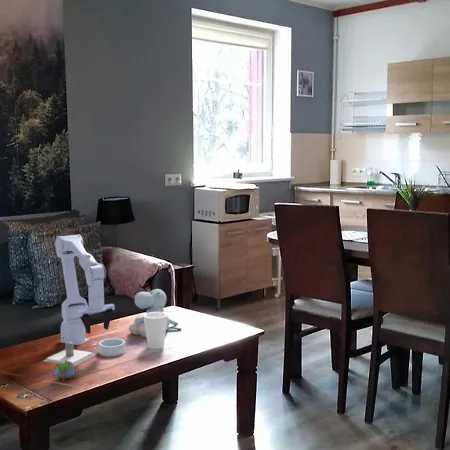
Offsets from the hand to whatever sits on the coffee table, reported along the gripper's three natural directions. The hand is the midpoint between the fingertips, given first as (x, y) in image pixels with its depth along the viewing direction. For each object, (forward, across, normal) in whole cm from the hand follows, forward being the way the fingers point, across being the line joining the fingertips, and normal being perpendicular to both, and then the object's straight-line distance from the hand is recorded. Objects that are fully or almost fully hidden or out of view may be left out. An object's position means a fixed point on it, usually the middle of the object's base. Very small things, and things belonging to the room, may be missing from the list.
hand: (97, 330), depth 232 cm
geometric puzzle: (+10, -21, -15) cm, 27 cm away
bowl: (+10, +6, -1) cm, 11 cm away
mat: (+10, -10, +4) cm, 14 cm away
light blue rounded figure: (+10, +34, +12) cm, 38 cm away
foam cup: (+10, +23, -6) cm, 25 cm away
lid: (+9, -10, +4) cm, 14 cm away
